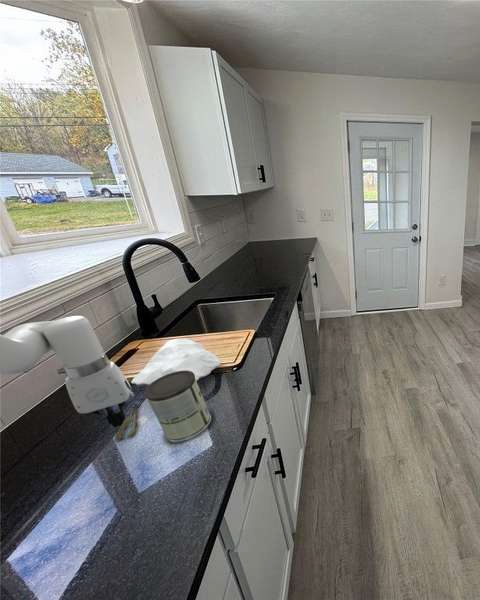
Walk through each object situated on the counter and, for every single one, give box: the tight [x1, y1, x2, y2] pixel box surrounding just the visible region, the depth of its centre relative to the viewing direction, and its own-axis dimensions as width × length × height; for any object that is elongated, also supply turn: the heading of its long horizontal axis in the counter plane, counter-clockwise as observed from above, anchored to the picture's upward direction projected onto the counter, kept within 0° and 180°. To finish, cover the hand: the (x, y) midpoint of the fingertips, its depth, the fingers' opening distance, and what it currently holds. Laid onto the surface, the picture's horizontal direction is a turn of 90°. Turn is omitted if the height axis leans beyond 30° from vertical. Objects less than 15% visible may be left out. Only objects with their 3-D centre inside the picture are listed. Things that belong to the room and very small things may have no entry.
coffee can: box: [143, 370, 212, 443], centre depth 79 cm, size 10×10×14 cm
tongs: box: [114, 405, 139, 440], centre depth 84 cm, size 4×13×2 cm, turn 31°
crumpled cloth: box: [130, 338, 222, 386], centre depth 102 cm, size 24×35×9 cm
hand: (119, 423), depth 83 cm, fingers closed
